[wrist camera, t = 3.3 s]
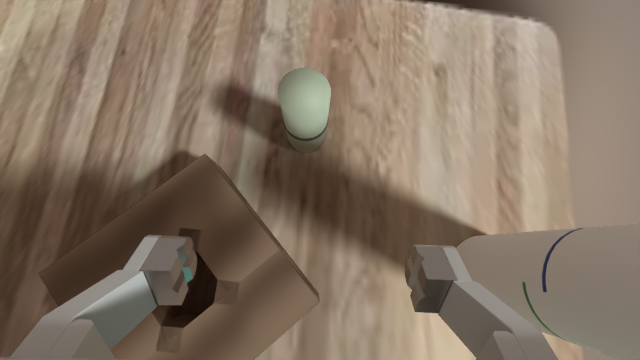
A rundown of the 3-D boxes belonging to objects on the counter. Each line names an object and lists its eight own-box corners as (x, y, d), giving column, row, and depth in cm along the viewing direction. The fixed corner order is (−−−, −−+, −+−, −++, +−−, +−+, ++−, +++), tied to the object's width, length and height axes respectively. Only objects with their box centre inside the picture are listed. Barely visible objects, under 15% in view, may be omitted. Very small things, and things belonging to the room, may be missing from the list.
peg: (333, 140, 33) (342, 95, 23) (303, 163, 32) (300, 127, 23) (309, 113, 34) (308, 57, 24) (279, 135, 33) (266, 87, 23)
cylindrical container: (522, 243, 31) (1286, 225, 7) (518, 317, 30) (1493, 643, 5) (453, 229, 31) (956, 162, 7) (445, 302, 30) (1062, 551, 5)
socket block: (318, 293, 30) (319, 302, 25) (177, 415, 27) (148, 452, 22) (221, 167, 32) (204, 153, 27) (83, 269, 29) (38, 273, 25)
